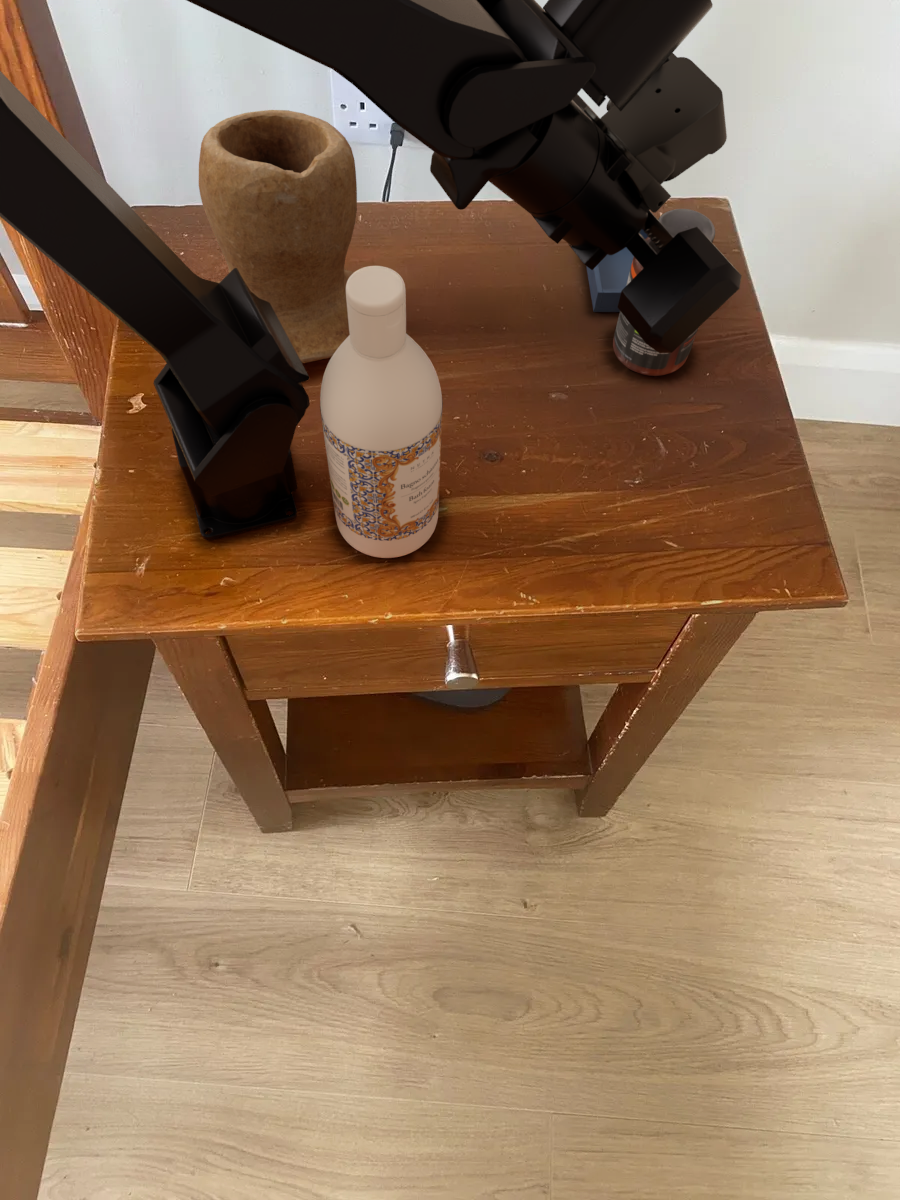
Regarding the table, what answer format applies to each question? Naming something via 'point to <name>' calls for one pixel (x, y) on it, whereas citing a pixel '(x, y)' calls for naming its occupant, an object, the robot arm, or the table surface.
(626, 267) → the tray
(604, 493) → the table surface
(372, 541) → the bath foam
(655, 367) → the supplement bottle
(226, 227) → the stone cup
